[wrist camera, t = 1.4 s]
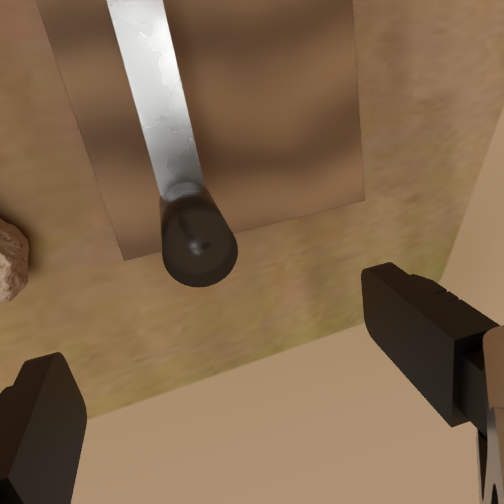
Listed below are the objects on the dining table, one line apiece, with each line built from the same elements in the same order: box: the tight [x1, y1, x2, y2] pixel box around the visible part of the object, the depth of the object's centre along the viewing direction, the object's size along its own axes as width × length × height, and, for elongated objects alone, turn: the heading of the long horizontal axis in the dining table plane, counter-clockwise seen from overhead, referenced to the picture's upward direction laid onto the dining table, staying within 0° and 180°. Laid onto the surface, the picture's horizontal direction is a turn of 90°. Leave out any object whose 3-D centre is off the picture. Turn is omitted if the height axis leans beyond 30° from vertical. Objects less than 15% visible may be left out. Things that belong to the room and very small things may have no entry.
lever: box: [107, 0, 238, 287], centre depth 17 cm, size 19×4×8 cm, turn 10°
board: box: [36, 0, 365, 261], centre depth 22 cm, size 26×18×6 cm
